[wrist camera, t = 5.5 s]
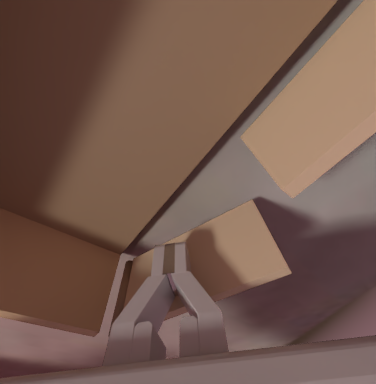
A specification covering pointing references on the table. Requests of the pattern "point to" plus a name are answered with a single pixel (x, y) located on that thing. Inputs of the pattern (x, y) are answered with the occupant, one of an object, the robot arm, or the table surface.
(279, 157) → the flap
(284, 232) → the table surface
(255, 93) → the carton
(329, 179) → the table surface
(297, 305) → the table surface
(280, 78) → the table surface
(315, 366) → the robot arm
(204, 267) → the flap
